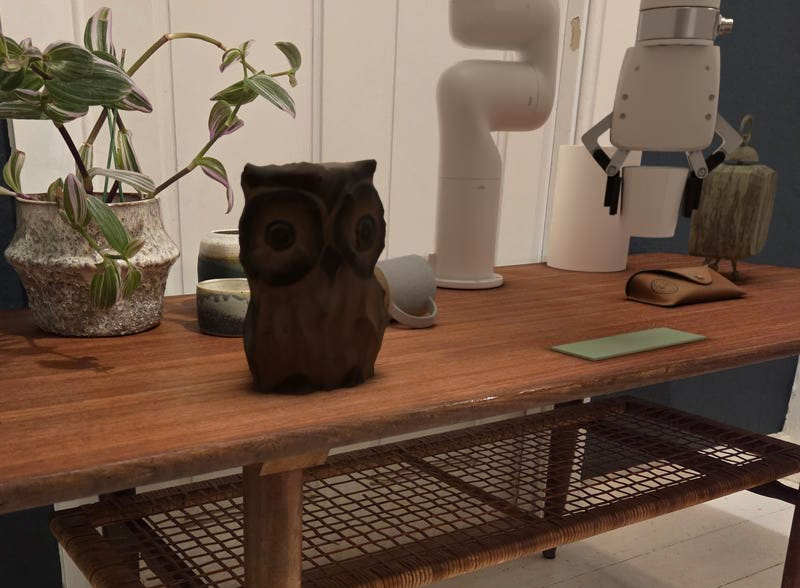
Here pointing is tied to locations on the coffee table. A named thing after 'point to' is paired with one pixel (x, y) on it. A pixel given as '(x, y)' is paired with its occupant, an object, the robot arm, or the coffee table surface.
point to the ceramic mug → (408, 289)
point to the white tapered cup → (651, 200)
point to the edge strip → (627, 343)
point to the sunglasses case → (680, 286)
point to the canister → (586, 214)
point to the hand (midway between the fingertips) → (648, 214)
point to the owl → (312, 275)
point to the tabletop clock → (733, 208)
